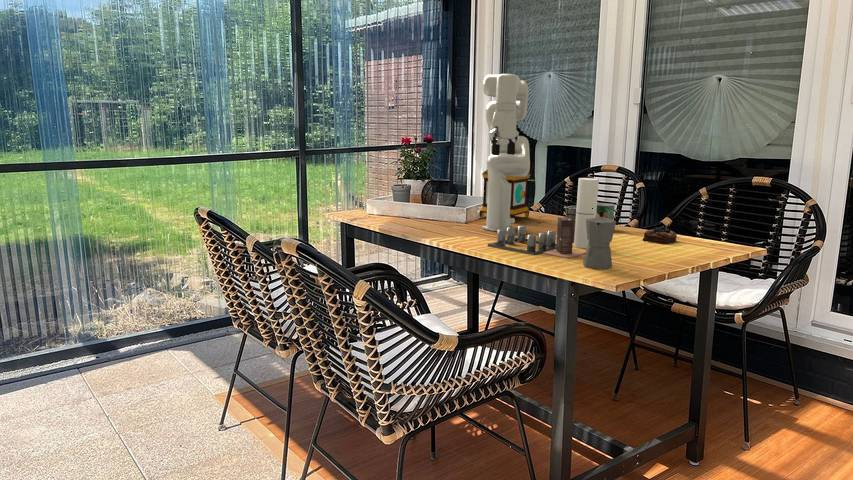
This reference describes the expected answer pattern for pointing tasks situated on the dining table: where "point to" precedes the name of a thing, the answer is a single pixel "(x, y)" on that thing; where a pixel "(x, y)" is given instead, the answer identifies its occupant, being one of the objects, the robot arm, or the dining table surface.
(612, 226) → the coffeepot
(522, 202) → the decorative lantern
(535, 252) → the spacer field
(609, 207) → the canned tomato
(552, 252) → the mat
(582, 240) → the white tall block
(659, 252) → the dining table surface
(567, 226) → the box
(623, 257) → the dining table surface
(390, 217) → the dining table surface
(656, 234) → the pastry
